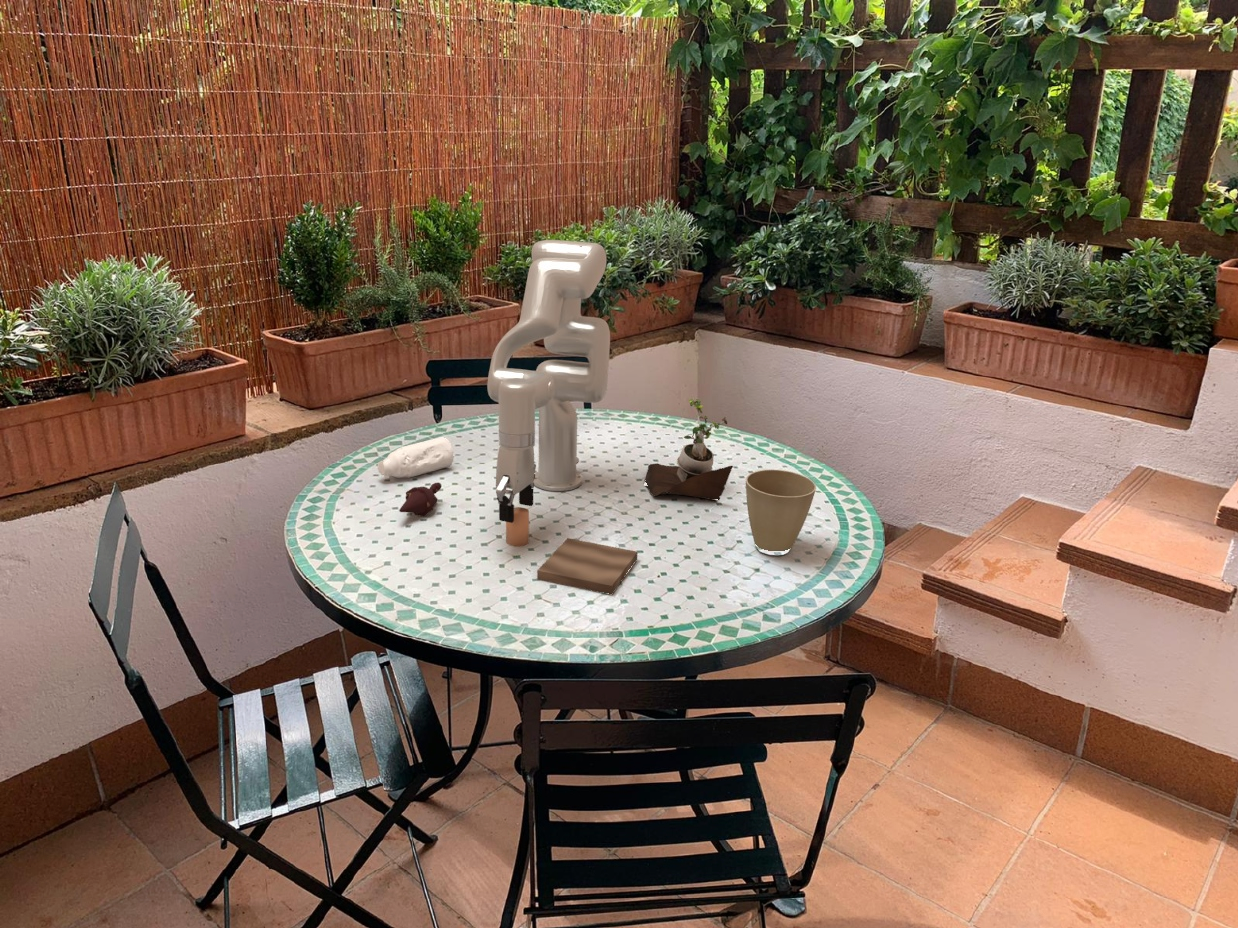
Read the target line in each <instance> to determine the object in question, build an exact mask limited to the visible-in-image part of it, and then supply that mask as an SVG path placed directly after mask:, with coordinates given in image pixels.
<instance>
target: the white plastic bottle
mask: <svg viewBox="0 0 1238 928" xmlns="http://www.w3.org/2000/svg"><path fill="white" fill-rule="evenodd" d="M452 448H453V444H452V443H451V442H450V440H448V439H447V438H446V437H443V436H440V437H436V438H431V439H429V440H425V441H421V442H416V443H411V444H408V445H405V446H401V447H398V448H396V449H395V450H394V451H391V452H390V453H389V454H388V456H387V457H386V459H384V460H380V461H378V462H377V470H378V473H379V474H380V475H381V476H383V478H384V479H389V477H390V476H392V477H395V478H406V479H409V478H412V477H417V476H419V475H420V476H421V475H424V474H428V473H430V472H435V471H439V470H441V469H446V468H450V467H452V465H453V462H454V459H455V456H454V451H453V449H452Z"/></svg>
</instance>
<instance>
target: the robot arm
mask: <svg viewBox="0 0 1238 928" xmlns="http://www.w3.org/2000/svg"><path fill="white" fill-rule="evenodd" d="M531 260H532V263H531V264H530V266H529V270H528V273H527V280H526V284H525V290H524V295H523V301H522V304H521V305H522V307H521V312H520V317H519V318H520V319H519V321H518V322H517V323H516V325H514V326H513V327H511V328H510V329H509V331H507V332H506V333H505V334H504V336H502V338H501V339H500V341H499V342H498V343H497V345H496V346H495V349H494V351H493V352H492V355H491V360H490V364H489V365H490V366H489V371H488V377H487V386H486V387H487V393H488V396H489V397H490V399H491V400H492V401H494V402H495V403H498V445H499V448H498V451H497V458H496V472H495V494H496V496H497V497H496V499H497V504H498V506H499V507H498V516H499V517H498V520H499V521H501V522H504V523H506V522H510V523H512V522H514V507H515V504H513V502H514V498H515V496H516V495H517V494H518V504H519V505H521V506H522V505H523V506H527V507H528V506H529V507H532V506H533V505H534V487H537V488H539V489H541V490H544V491H551V492H566V491H571V490H574V489H577V488H578V487H580V486H582V484H583V477H582V475H581V474H580V473H578V472H577V465H578V464H579V462H580V459H579V457H578V456H577V455H578V454H577V453H578V451H577V450H578V415H577V412H576V409H575V407H574V406H573V404H572V403H571V402H578V403H579V402H580V403H590V404H591V403H592V404H594V403H595V404H596V403H600V402H602V401H603V400H604V399H605V397H606V394H607V390H608V381H609V380H608V379H609V365H610V363H609V362H610V350H611V349H610V347H611V331H610V327H609V324H608V323H607V322H606V320H604V319H602V318H600V317H595V316H582V314H581V310H582V309H581V308H582V306H581V305H582V300H587V299H588V298H590V297H591V296H592V295H593V293H594V291H595V290H596V288H597V287H598V284H599V283H600V281H601V279H602V278H603V276H604V274H605V271H606V267H607V253H606V250H605V248H604V247H603V246H602V245H601V244H599V243H597V242H596V243H595V242H590V241H589V242H588V241H573V240H572V241H571V240H562V239H560V240H559V239H546V240H539V241H537V242H535V243H534V244H533V246H532V248H531ZM540 340H543V345H544V348H545V350H546V351H547V352H549V353H551V354H556V355H561V356H562V355H563V356H573V357H574V356H575V357H582V358H583V357H584V358H587V361H588V362H583V361H573V360H564V359H548V360H544V361H543V362H541V363H540V364H538V366H537V367H536V370H529V369H521V368H512V367H511V368H509V367H508V363H509V361H510V358H512V356H513V355H514V354H515V353H516V352H517V351H519V349H522V348H523V347H525V346H528V345H530V344H531V343H532V344H533V343H535V342H537V341H540ZM536 409H538V471H537V472H536V467H537V464H536V463H535V450H534V449H535V448H534V447H535V445H536ZM507 495H509V497H508V496H507Z"/></svg>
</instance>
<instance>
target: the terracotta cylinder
mask: <svg viewBox="0 0 1238 928" xmlns="http://www.w3.org/2000/svg"><path fill="white" fill-rule="evenodd" d="M529 542H530V511H529V509H528V508H525V507H520V506H519V507H518V506H514V522H512V523H510V522H505V543H506V544H507V545H509V546H512V547H523V546H526V545H527V544H529Z"/></svg>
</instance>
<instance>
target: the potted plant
mask: <svg viewBox="0 0 1238 928" xmlns="http://www.w3.org/2000/svg"><path fill="white" fill-rule="evenodd" d="M699 399H700V398H698V397H697V398H696V399H695V398H690V399H688V403H689V404H690V407H692V406H693V407H694V408H695V409H696V410H697V412H696V413H697V422H698V423H697V424H698V426H694V427H693V428H692V436H691V435H684V436H683V438H684V439H686V440H689V439H691V440H692V439H693V442H692V443H689V444H685V445H684V446H683V447H682V449H681V451H680V454H679V456H678V457H677V460H676V464H677V465H664V464H660V463H650V464H648V467H647V469H646V470H647V471H646V475H645V478H644V481H645V480H646V481H645V482H646V483H647V485H648V487H647V488H648V490H649V493H651V494H652V496H653V497H655V496H656V497H657V496H659V495H663V494H669V495H671V494H672V495H680V496H681V495H682V496H687V497H688V496H689V497H695V498H702V499H706V498H709V499H708V500H712V499H718V500H717V501H720V499H721V497H722V496H723V495H722V494H723V493H724V489H725V487H726V484H727V482H728V480H729V477H730V474H731V472H732V469H733V468H734V466H733V465H729V466H724V467H722V468H721V467H720V468H717V469H713V468H712V467H713V465H714V453H713V452H712V449H709V448H708V447H707V445H706V444H705V442H704V441H705V439H706V440H707V439H709V438H710V436H711V434H712V432H711V431H712V428H715V429H717V430H719V429H720V428H719V427H721V426H720V425H723V424H725V425H728V421H727V420H726V416H724V417H723V419H721V421H720V423H716V422H715V421H712V423H710V424H709V427H708V425H707V422H708V421H707V419H708V416H706V415H701V416H700V414H703V411H702V408H703V407H704V405H701V401H700V400H699ZM701 419H703V420H704V423H701ZM694 436H695V437H694ZM704 437H705V438H704Z"/></svg>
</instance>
